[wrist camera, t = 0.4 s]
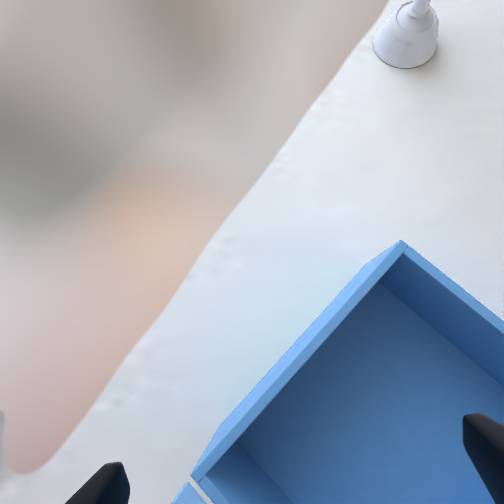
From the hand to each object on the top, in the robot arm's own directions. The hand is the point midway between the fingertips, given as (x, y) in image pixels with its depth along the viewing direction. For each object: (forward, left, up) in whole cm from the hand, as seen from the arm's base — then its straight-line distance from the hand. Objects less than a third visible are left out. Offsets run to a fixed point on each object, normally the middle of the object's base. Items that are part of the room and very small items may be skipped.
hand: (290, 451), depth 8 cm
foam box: (-7, -2, -14) cm, 16 cm away
